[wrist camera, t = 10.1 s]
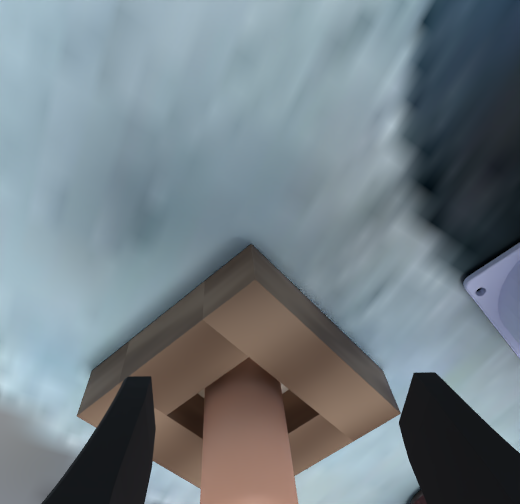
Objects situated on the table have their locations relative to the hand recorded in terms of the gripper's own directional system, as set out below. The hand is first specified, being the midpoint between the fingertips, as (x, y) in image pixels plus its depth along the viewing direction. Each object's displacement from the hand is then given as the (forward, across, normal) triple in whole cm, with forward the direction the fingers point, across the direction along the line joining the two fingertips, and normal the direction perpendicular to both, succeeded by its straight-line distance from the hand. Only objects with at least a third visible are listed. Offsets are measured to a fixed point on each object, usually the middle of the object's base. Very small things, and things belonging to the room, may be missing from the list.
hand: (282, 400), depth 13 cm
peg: (+10, 0, +9) cm, 13 cm away
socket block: (+10, 0, +9) cm, 13 cm away
